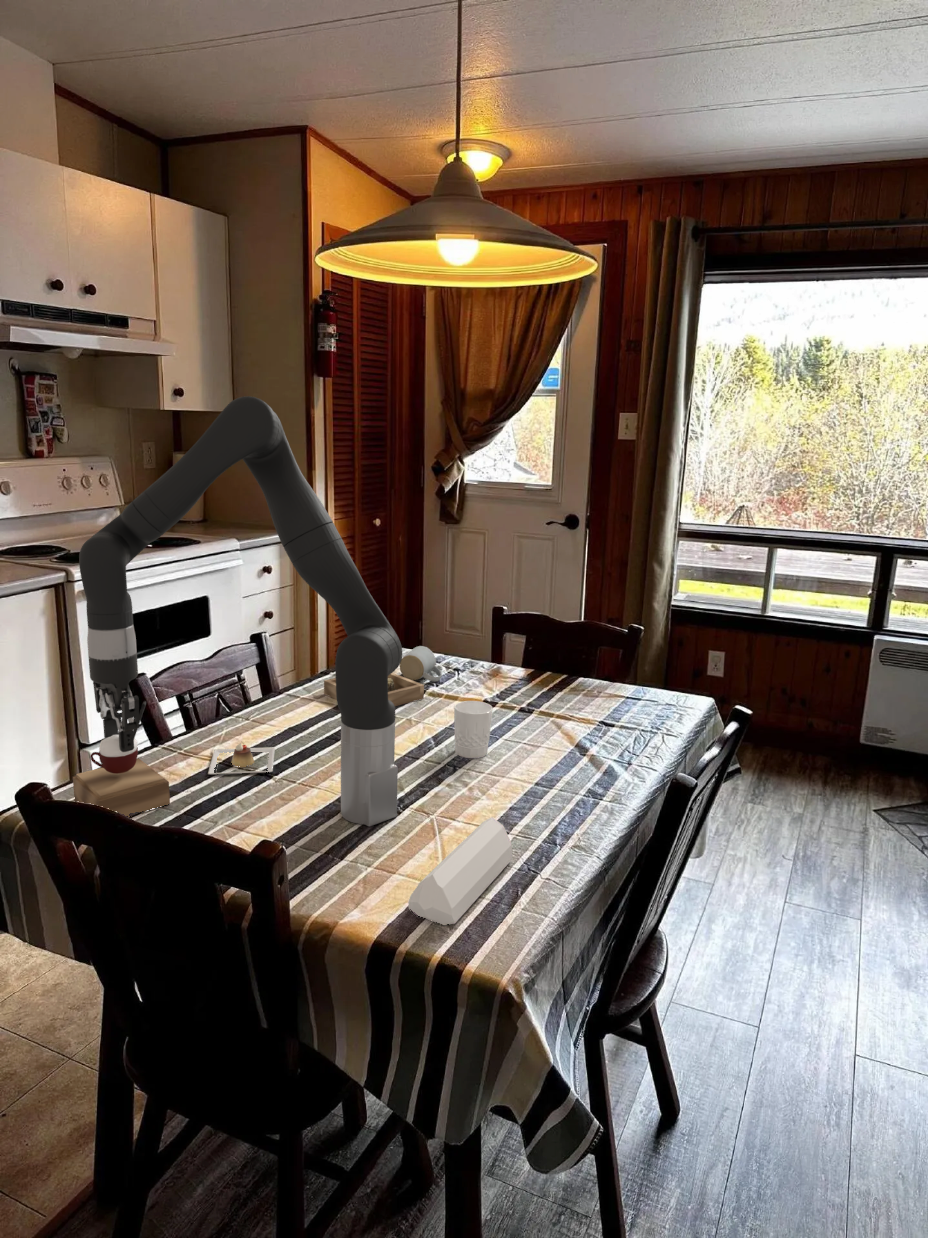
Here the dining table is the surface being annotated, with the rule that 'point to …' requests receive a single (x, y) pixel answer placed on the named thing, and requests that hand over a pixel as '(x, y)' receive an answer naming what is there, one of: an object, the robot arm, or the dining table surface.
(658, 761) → the dining table surface
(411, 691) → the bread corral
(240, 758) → the dessert
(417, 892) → the crystal
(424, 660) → the ceramic mug
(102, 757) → the cocoa
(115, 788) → the walnut pedestal
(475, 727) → the white cup
